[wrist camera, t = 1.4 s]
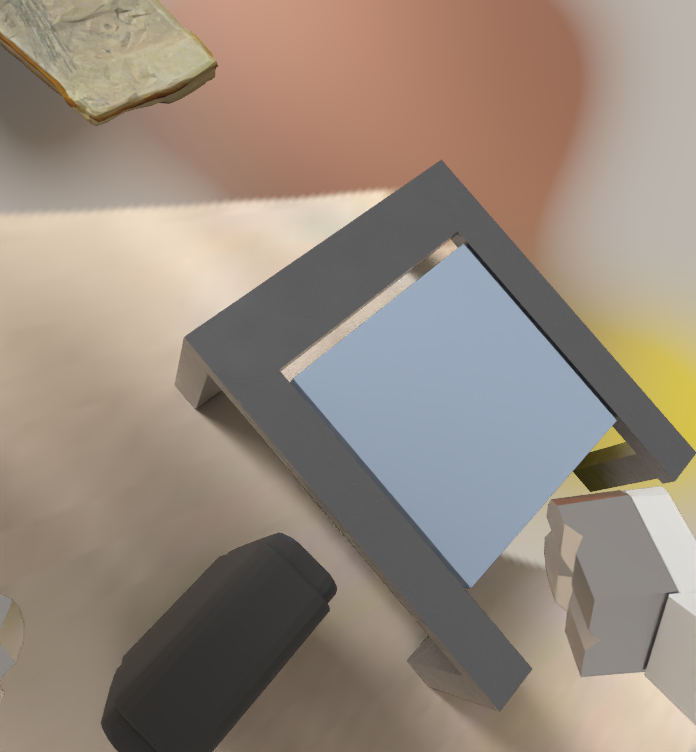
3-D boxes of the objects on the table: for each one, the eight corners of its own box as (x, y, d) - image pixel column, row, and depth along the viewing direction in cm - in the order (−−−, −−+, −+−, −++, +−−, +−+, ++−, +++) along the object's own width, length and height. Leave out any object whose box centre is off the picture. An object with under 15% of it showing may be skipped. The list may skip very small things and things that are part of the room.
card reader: (158, 727, 34) (172, 821, 21) (105, 673, 34) (85, 732, 21) (277, 593, 38) (355, 598, 25) (229, 544, 38) (281, 522, 25)
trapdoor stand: (174, 384, 40) (184, 337, 32) (392, 227, 48) (441, 159, 41) (428, 686, 39) (499, 711, 32) (605, 474, 48) (696, 452, 40)
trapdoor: (289, 383, 34) (293, 378, 33) (456, 251, 40) (463, 243, 39) (462, 587, 34) (471, 588, 33) (605, 424, 40) (616, 420, 39)
